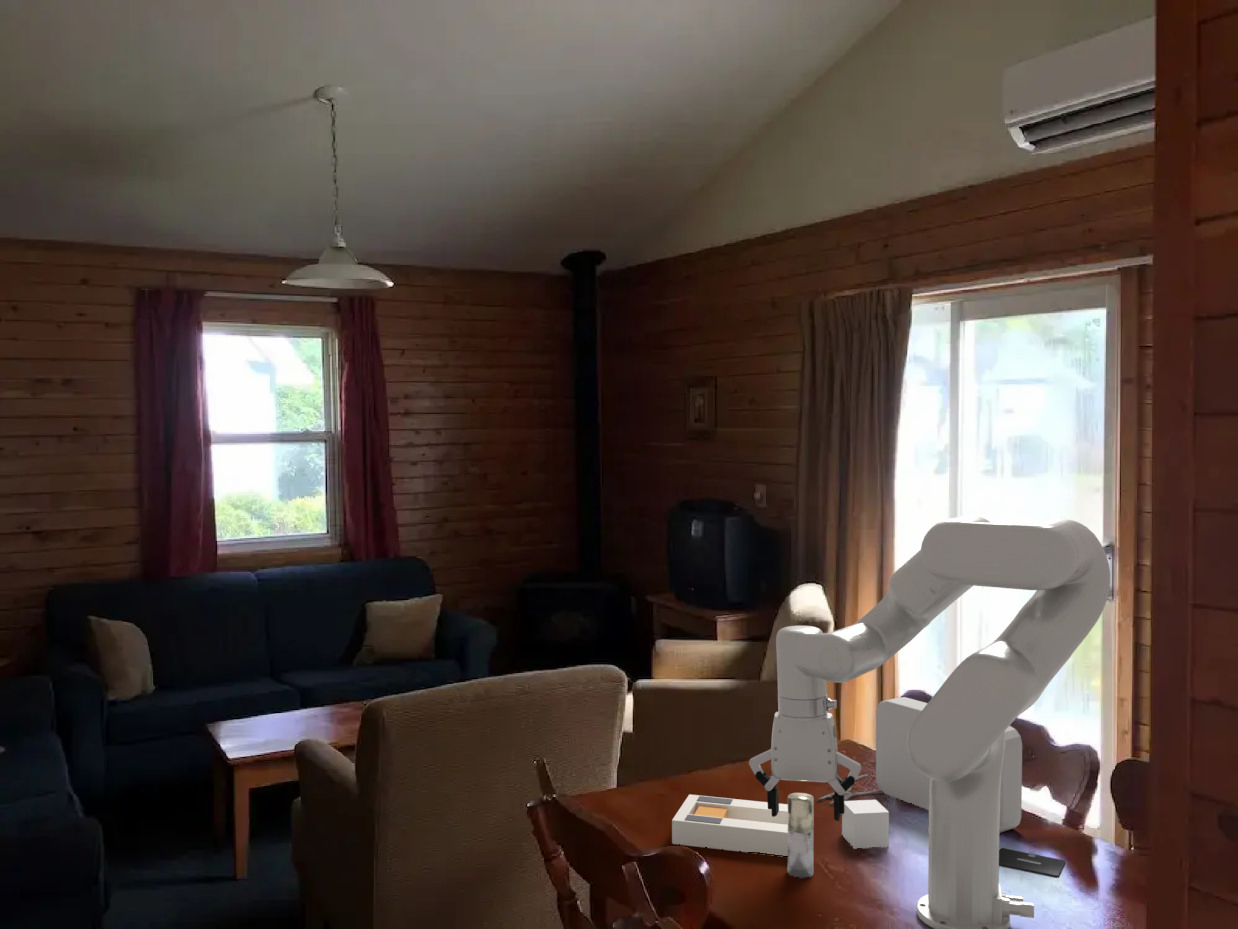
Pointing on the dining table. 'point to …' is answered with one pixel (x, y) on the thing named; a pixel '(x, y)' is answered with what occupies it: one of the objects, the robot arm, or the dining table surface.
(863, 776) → the pliers
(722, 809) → the switch tab
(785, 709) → the robot arm
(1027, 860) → the solid state drive
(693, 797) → the switch box
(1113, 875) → the dining table surface
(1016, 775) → the rounded white slab
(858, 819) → the white cube
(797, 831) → the silver metal cylinder
